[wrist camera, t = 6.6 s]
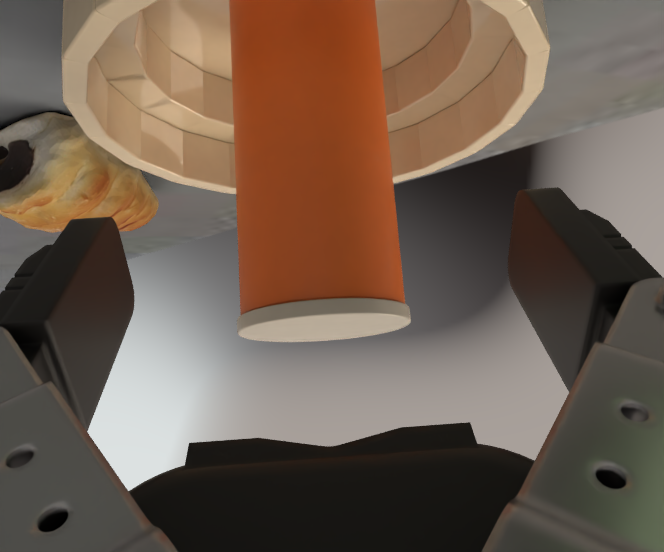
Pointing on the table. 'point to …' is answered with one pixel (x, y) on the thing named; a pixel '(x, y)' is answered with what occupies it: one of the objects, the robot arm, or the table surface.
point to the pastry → (67, 177)
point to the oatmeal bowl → (216, 80)
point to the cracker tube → (313, 173)
